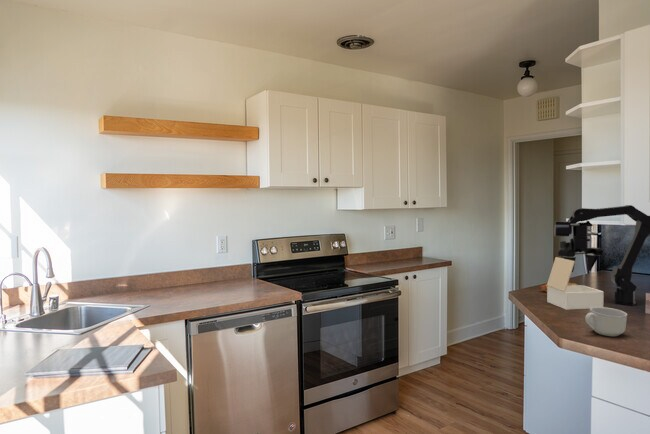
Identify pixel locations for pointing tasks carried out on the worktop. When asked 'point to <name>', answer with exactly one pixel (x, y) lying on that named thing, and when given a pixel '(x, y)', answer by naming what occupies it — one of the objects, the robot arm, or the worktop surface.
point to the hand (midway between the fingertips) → (580, 271)
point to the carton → (575, 297)
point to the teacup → (606, 321)
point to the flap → (560, 273)
